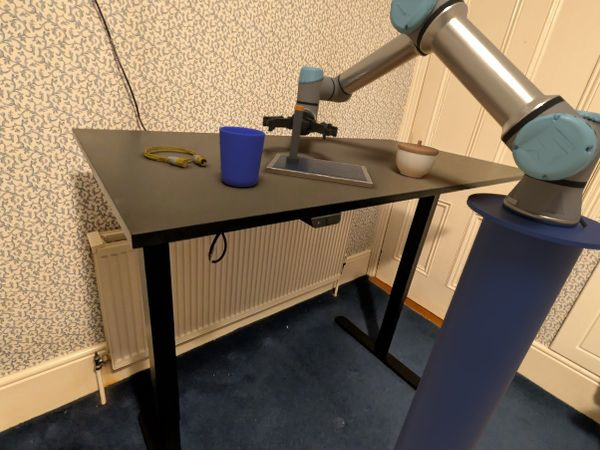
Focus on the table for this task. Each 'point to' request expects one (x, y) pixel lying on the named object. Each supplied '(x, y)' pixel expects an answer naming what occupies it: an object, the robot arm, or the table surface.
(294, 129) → the stylus
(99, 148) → the table surface
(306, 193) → the table surface
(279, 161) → the tablet
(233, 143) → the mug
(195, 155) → the extension cord
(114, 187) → the table surface
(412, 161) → the trinket box
